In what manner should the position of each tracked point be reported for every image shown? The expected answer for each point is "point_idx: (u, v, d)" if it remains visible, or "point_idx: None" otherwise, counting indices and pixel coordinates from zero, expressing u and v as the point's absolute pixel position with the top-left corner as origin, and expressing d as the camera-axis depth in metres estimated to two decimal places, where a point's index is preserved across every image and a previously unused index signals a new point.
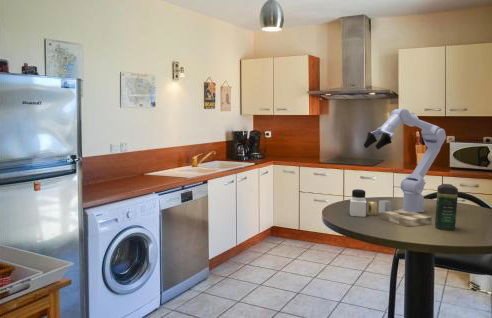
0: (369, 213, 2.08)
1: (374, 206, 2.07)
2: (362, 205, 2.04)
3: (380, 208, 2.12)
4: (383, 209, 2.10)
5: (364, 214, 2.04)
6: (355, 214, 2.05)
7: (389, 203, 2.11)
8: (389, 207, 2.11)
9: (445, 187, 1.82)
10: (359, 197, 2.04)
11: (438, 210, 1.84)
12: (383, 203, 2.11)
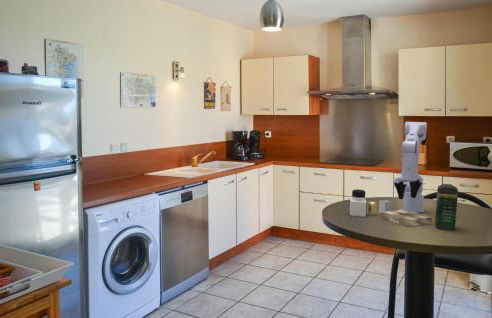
0: (369, 213, 2.08)
1: (374, 206, 2.07)
2: (362, 205, 2.04)
3: (380, 208, 2.12)
4: (383, 209, 2.10)
5: (364, 214, 2.04)
6: (355, 214, 2.05)
7: (389, 203, 2.11)
8: (389, 207, 2.11)
9: (445, 187, 1.82)
10: (359, 197, 2.04)
11: (438, 210, 1.84)
12: (383, 203, 2.11)
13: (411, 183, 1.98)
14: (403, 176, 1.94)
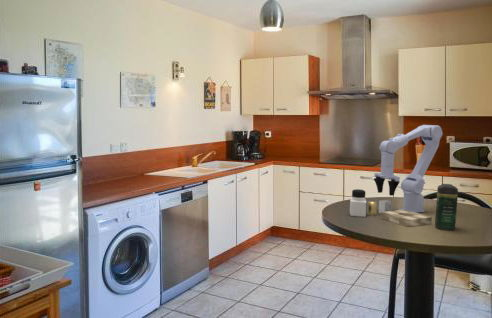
0: (369, 213, 2.08)
1: (374, 206, 2.07)
2: (362, 205, 2.04)
3: (380, 208, 2.12)
4: (383, 209, 2.10)
5: (364, 214, 2.04)
6: (355, 214, 2.05)
7: (389, 203, 2.11)
8: (389, 207, 2.11)
9: (445, 187, 1.82)
10: (359, 197, 2.04)
11: (438, 210, 1.84)
12: (383, 203, 2.11)
13: None
14: None
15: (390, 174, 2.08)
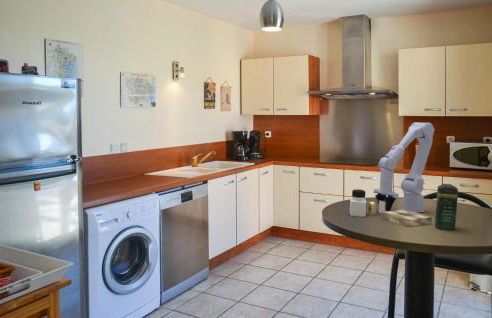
0: (369, 213, 2.08)
1: (374, 206, 2.07)
2: (362, 205, 2.04)
3: (380, 208, 2.12)
4: (383, 209, 2.10)
5: (364, 214, 2.04)
6: (355, 214, 2.05)
7: None
8: None
9: (445, 187, 1.82)
10: (359, 197, 2.04)
11: (438, 210, 1.84)
12: (383, 203, 2.11)
13: None
14: None
15: (389, 191, 2.09)
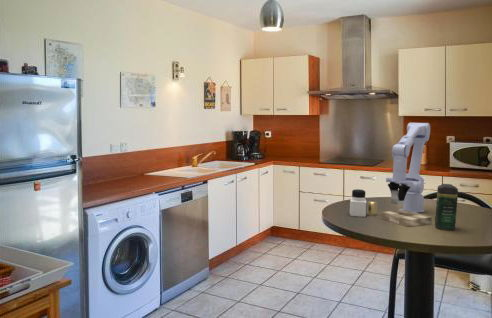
0: (369, 213, 2.08)
1: (374, 206, 2.07)
2: (362, 205, 2.04)
3: (392, 198, 2.02)
4: (396, 199, 2.00)
5: (364, 214, 2.04)
6: (355, 214, 2.05)
7: None
8: None
9: (445, 187, 1.82)
10: (359, 197, 2.04)
11: (438, 210, 1.84)
12: (396, 193, 2.00)
13: None
14: None
15: (403, 179, 1.99)
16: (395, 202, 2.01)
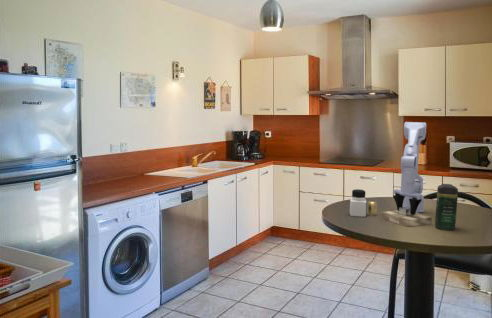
0: (369, 213, 2.08)
1: (374, 206, 2.07)
2: (362, 205, 2.04)
3: None
4: None
5: (364, 214, 2.04)
6: (355, 214, 2.05)
7: None
8: (410, 215, 1.95)
9: (445, 187, 1.82)
10: (359, 197, 2.04)
11: (438, 210, 1.84)
12: (403, 210, 1.95)
13: None
14: None
15: (411, 191, 1.93)
16: None
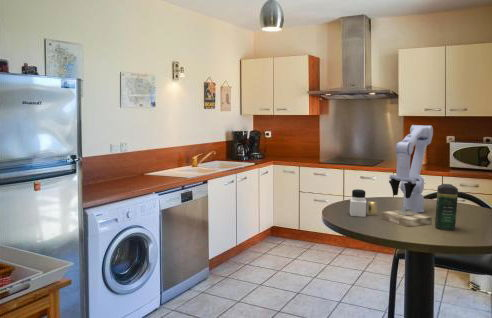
0: (369, 213, 2.08)
1: (374, 206, 2.07)
2: (362, 205, 2.04)
3: None
4: None
5: (364, 214, 2.04)
6: (355, 214, 2.05)
7: (410, 210, 1.95)
8: (410, 215, 1.95)
9: (445, 187, 1.82)
10: (359, 197, 2.04)
11: (438, 210, 1.84)
12: (403, 210, 1.95)
13: None
14: None
15: (406, 176, 2.02)
16: None
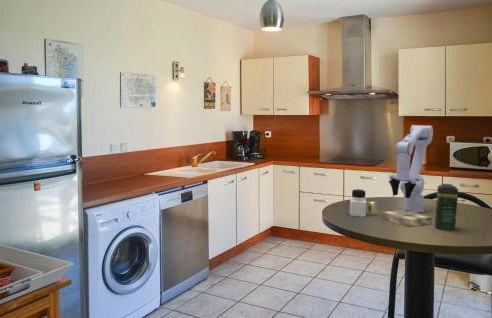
0: (369, 213, 2.08)
1: (374, 206, 2.07)
2: (362, 205, 2.04)
3: None
4: None
5: (364, 214, 2.04)
6: (355, 214, 2.05)
7: (410, 210, 1.95)
8: (410, 215, 1.95)
9: (445, 187, 1.82)
10: (359, 197, 2.04)
11: (438, 210, 1.84)
12: (403, 210, 1.95)
13: None
14: None
15: (406, 176, 2.02)
16: None
